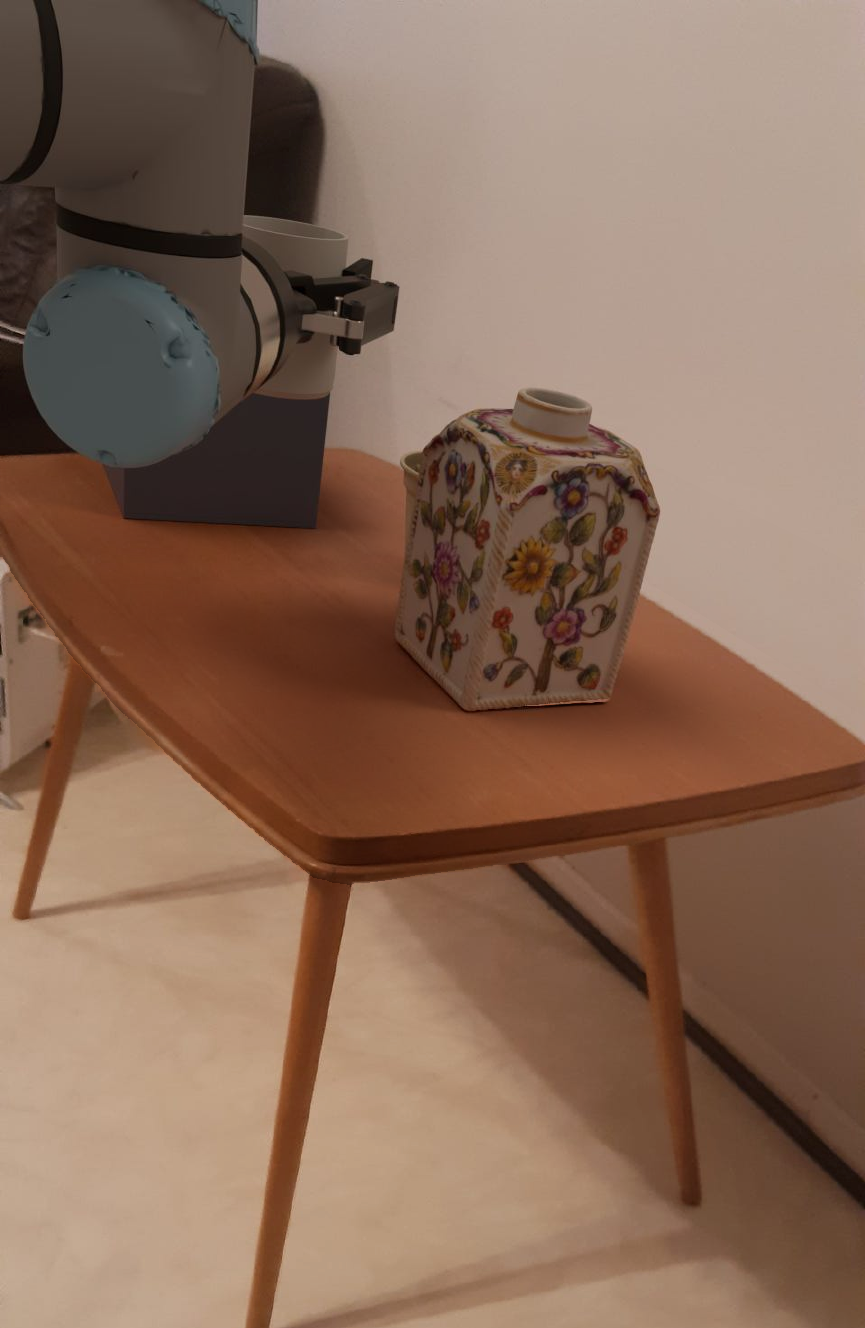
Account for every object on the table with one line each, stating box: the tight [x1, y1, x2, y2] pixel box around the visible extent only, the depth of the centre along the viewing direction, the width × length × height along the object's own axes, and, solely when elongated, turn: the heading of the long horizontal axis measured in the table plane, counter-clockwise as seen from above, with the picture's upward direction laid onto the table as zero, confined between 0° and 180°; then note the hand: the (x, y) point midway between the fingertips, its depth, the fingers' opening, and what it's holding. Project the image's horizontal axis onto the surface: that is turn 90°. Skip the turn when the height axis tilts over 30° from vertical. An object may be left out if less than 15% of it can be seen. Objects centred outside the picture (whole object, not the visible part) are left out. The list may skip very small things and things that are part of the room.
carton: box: [102, 392, 331, 530], centre depth 101 cm, size 16×14×11 cm
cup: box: [242, 214, 350, 400], centre depth 77 cm, size 7×10×9 cm
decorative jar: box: [394, 387, 661, 712], centre depth 79 cm, size 12×12×18 cm
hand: (305, 270), depth 80 cm, fingers closed on cup, 7 cm apart
